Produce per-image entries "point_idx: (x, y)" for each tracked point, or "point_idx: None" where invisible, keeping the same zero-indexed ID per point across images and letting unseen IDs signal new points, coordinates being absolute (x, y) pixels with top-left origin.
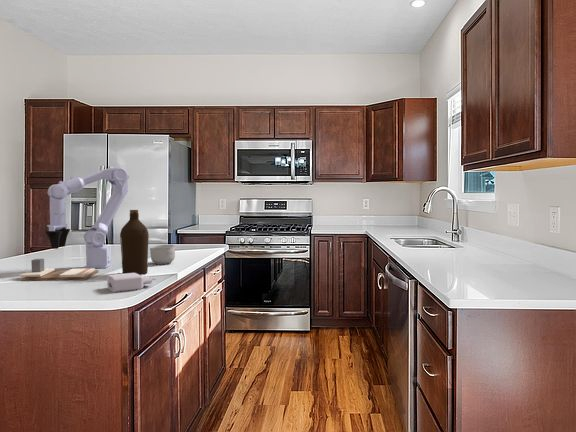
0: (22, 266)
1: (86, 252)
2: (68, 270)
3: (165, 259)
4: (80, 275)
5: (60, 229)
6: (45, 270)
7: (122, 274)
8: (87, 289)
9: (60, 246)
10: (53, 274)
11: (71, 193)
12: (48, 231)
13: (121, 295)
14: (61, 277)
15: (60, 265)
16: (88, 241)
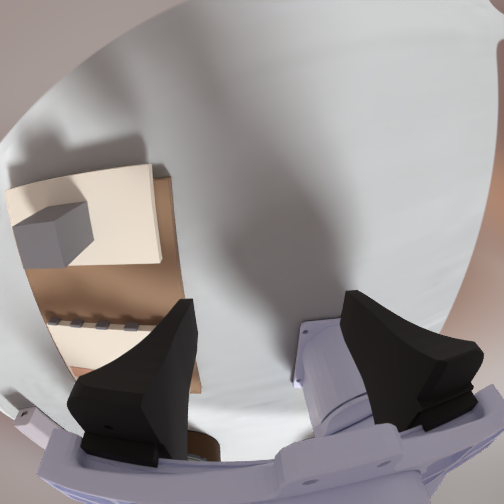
0: (405, 20)
1: (338, 377)
2: (127, 331)
3: None
4: (73, 373)
5: (419, 415)
6: (91, 247)
7: (40, 439)
8: (12, 381)
9: (345, 299)
10: (81, 285)
11: None
12: (75, 418)
13: (14, 413)
14: (47, 327)
15: (419, 187)
16: (362, 426)
